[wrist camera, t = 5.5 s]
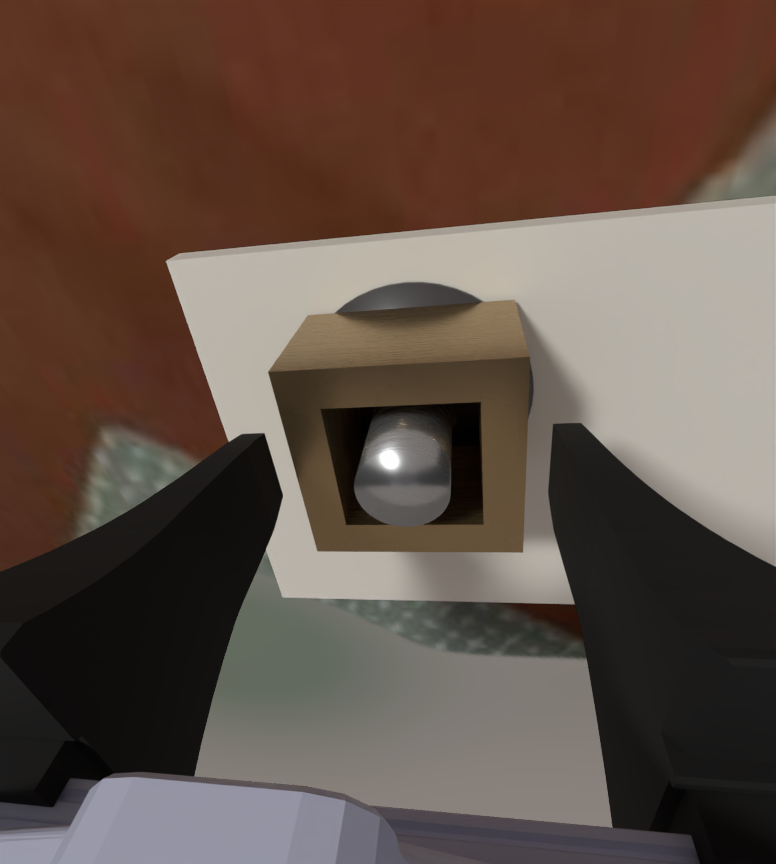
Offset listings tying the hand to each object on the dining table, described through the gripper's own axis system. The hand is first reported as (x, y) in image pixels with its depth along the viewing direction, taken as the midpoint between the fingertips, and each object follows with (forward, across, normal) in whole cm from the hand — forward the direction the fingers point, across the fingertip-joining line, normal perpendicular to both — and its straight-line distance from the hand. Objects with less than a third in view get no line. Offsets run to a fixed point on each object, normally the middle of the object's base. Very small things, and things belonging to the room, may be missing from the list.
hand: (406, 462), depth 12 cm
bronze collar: (+3, 0, 0) cm, 3 cm away
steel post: (+4, 0, 0) cm, 4 cm away
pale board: (+4, -4, +2) cm, 7 cm away
